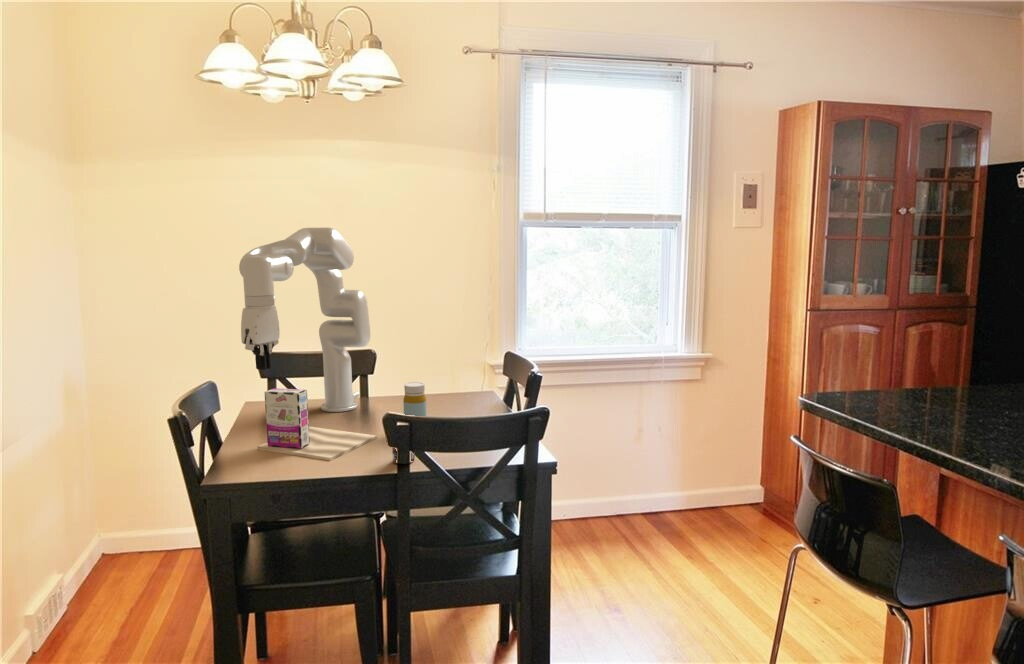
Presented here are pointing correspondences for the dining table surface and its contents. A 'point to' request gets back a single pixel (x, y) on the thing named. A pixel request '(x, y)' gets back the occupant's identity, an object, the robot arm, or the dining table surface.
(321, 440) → the birch board
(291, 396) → the candy bar box
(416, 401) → the bottle
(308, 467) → the dining table surface
